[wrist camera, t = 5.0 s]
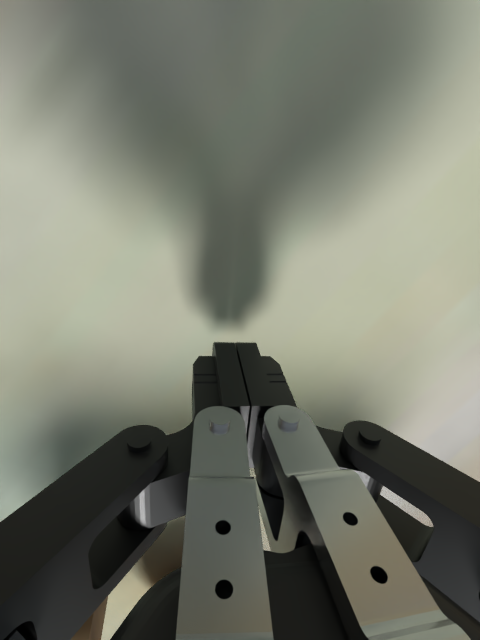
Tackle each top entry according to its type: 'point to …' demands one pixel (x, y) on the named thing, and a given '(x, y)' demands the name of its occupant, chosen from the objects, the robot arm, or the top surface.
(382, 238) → the top surface
